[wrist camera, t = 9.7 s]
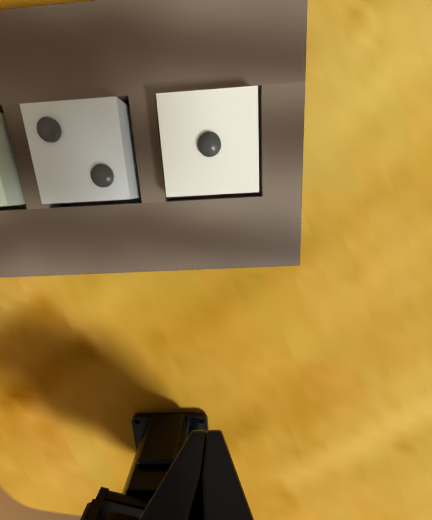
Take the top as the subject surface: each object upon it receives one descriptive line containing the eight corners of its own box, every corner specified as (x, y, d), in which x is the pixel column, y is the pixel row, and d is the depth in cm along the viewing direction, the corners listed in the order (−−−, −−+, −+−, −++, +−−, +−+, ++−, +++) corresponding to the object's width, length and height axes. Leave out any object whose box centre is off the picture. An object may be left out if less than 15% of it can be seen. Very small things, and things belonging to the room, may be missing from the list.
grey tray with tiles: (289, 253, 20) (299, 265, 17) (-31, 266, 21) (-72, 280, 18) (293, 16, 16) (307, -21, 13) (-98, 52, 17) (-164, 25, 14)
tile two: (146, 196, 18) (129, 199, 15) (71, 200, 18) (40, 204, 15) (135, 111, 16) (114, 95, 13) (55, 117, 17) (17, 102, 14)
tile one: (254, 190, 17) (259, 192, 14) (176, 194, 18) (165, 197, 15) (252, 102, 16) (258, 84, 13) (168, 108, 16) (154, 92, 13)
